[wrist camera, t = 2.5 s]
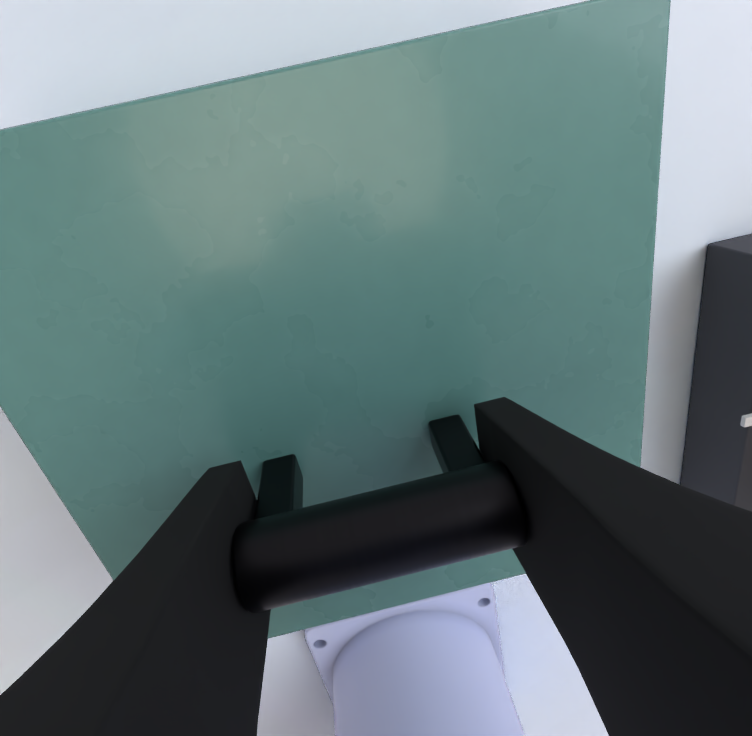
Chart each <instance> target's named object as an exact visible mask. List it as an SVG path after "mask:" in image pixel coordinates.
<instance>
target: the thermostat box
mask: <svg viewBox="0 0 752 736" xmlns="http://www.w3.org/2000/svg"><path fill="white" fill-rule="evenodd" d="M681 485H682V486H684V487H687V488H690V489H692V490H695V491H697V492H700V493H703V494H705V495H708V496H711V497H713V498H716V499H718V500H721V501H724V502H726V503H729V504H732V505H734V506H737V507H740V508H743V509H746V510H749V511H752V234H749V235H745V236H741V237H736V238H732V239H728V240H724V241H719V242H715V243H711V244H709V245H708V252H707V260H706V269H705V278H704V286H703V295H702V304H701V312H700V321H699V330H698V338H697V347H696V356H695V364H694V373H693V382H692V390H691V399H690V408H689V416H688V425H687V434H686V442H685V451H684V460H683V468H682V477H681Z"/></svg>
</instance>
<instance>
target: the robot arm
mask: <svg viewBox="0 0 752 736" xmlns="http://www.w3.org/2000/svg"><path fill="white" fill-rule="evenodd" d="M474 410H475V418H476V426H477V434H478V442H479V450H480V452H481V454H482V456H483V457H484V459H485V461H486V463H487V462H491V461H495V460H497V461H501V462H502V463H503V464H504V465H505V466H506V467H507V469H508V470H509V472H510V474H511V475H512V477H513V479H514V482H515V484H516V486H517V489H518V491H519V494H520V497H521V500H522V503H523V507H524V510H525V515H526V520H527V526H528V540H527V543H526V544H525V545H523V546H521V547H517V548H513V551H514V553H515V555H516V556H517V558H518V560H519V562H520V564H521V565H522V567H523V569H524V571H525V572H526V574H527V576H528V578H529V580H530V581H531V583H532V585H533V587H534V588H535V590H536V592H537V594H538V595H539V597H540V599H541V601H542V602H543V604H544V606H545V608H546V610H547V611H548V613H549V615H550V617H551V618H552V620H553V622H554V624H555V625H556V627H557V629H558V631H559V633H560V634H561V636H562V638H563V640H564V641H565V643H566V645H567V647H568V649H569V651H570V653H571V655H572V657H573V659H574V661H575V663H576V665H577V667H578V668H579V671H580V673H581V675H582V677H583V679H584V681H585V684H586V686H587V688H588V690H589V692H590V695H591V697H592V699H593V701H594V703H595V706H596V708H597V710H598V712H599V714H600V717H601V719H602V721H603V723H604V725H605V728H606V730H607V732H608V734H609V736H752V511H749V510H746V509H743V508H740V507H737V506H734V505H732V504H729V503H726V502H724V501H721V500H718V499H716V498H713V497H711V496H708V495H705V494H703V493H700V492H697V491H695V490H692V489H690V488H687V487H684V486H682V485H679V484H677V483H674V482H672V481H670V480H667V479H665V478H662V477H660V476H658V475H655V474H653V473H651V472H649V471H647V470H645V469H642V468H640V467H638V466H636V465H634V464H631V463H629V462H627V461H625V460H623V459H621V458H618V457H616V456H614V455H612V454H610V453H608V452H606V451H604V450H602V449H600V448H598V447H596V446H594V445H592V444H590V443H588V442H586V441H584V440H582V439H581V438H579V437H577V436H575V435H573V434H571V433H569V432H567V431H566V430H564V429H562V428H560V427H558V426H556V425H555V424H553V423H551V422H549V421H547V420H546V419H544V418H542V417H540V416H538V415H537V414H535V413H533V412H531V411H530V410H528V409H526V408H524V407H523V406H521V405H519V404H517V403H515V402H514V401H512V400H510V399H508V398H506V397H501V398H497V399H493V400H489V401H485V402H481V403H477V404H474ZM256 506H257V499H256V496H255V494H254V491H253V489H252V487H251V484H250V482H249V479H248V477H247V474H246V472H245V469H244V467H243V464H242V462H241V460H240V461H236V462H232V463H227V464H223V465H219V466H215V467H211V468H209V469H208V470H207V471H206V472H205V473H204V474H203V475H202V476H201V478H200V479H199V480H198V481H197V482H196V484H195V485H194V486H193V487H192V488H191V490H190V491H189V492H188V493H187V494H186V496H185V497H184V498H183V499H182V501H181V502H180V503H179V504H178V506H177V507H176V508H175V509H174V511H173V512H172V513H171V514H170V515H169V517H168V518H167V519H166V520H165V521H164V523H163V524H162V525H161V526H160V528H159V529H158V530H157V531H156V532H155V534H154V535H153V536H152V537H151V538H150V540H149V541H148V542H147V543H146V544H145V546H144V547H143V548H142V549H141V550H140V552H139V553H138V554H137V555H136V556H135V557H134V558H133V560H132V561H131V562H130V563H129V564H128V565H127V566H126V567H125V569H124V570H123V571H122V572H121V573H120V574H119V575H118V576H117V577H116V579H115V580H114V581H113V582H112V583H111V584H110V585H109V586H108V588H107V589H106V590H105V591H104V592H103V593H102V594H101V595H100V596H99V598H98V599H97V600H96V601H95V602H94V603H93V604H92V605H91V607H90V608H89V609H88V610H87V611H86V612H85V613H84V614H83V615H82V616H81V617H80V618H79V619H78V620H77V621H76V622H75V623H74V624H73V625H72V626H71V627H70V628H69V629H68V630H67V631H66V633H65V634H64V635H63V636H62V637H61V638H60V639H59V640H58V641H57V642H56V643H55V644H54V645H53V646H51V647H50V648H49V649H48V650H47V651H46V652H45V653H44V654H43V655H42V656H41V657H40V658H39V659H38V660H37V661H36V662H35V663H34V664H33V665H32V666H31V667H30V668H29V669H28V670H27V671H26V672H25V673H24V674H23V675H22V676H21V677H20V678H18V679H17V680H16V681H15V682H14V683H13V684H12V685H11V686H10V687H9V688H8V689H7V690H6V691H5V692H3V693H2V694H1V695H0V736H257V724H258V714H259V706H260V698H261V689H262V681H263V672H264V664H265V656H266V647H267V639H268V631H269V622H270V613H271V609H269V610H265V611H261V612H257V613H251V612H248V611H247V610H246V609H245V607H244V606H243V604H242V602H241V600H240V597H239V594H238V591H237V588H236V584H235V579H234V573H233V565H232V546H233V537H234V533H235V530H236V528H237V527H238V525H240V524H241V523H243V522H246V521H250V520H254V519H255V512H256ZM305 639H306V642H307V644H308V647H309V649H310V651H311V654H312V656H313V658H314V661H315V663H316V666H317V668H318V670H319V673H320V675H321V677H322V680H323V682H324V685H325V687H326V689H327V692H328V694H329V696H330V699H331V701H332V704H333V706H334V724H335V736H526V735H525V733H524V730H523V727H522V725H521V722H520V719H519V716H518V714H517V711H516V708H515V705H514V703H513V700H512V697H511V694H510V692H509V689H508V686H507V683H506V680H505V672H504V664H503V656H502V649H501V641H500V633H499V625H498V618H497V610H496V602H495V594H494V589H493V587H492V584H491V582H490V583H486V584H482V585H478V586H474V587H470V588H466V589H462V590H458V591H454V592H450V593H446V594H442V595H438V596H434V597H430V598H426V599H423V600H419V601H415V602H411V603H407V604H403V605H399V606H395V607H391V608H387V609H383V610H379V611H375V612H371V613H367V614H363V615H359V616H355V617H351V618H347V619H343V620H339V621H335V622H331V623H327V624H323V625H320V626H316V627H312V628H308V629H305Z"/></svg>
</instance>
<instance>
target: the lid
mask: <svg viewBox="0 0 752 736" xmlns="http://www.w3.org/2000/svg"><path fill="white" fill-rule="evenodd" d="M669 15H670V0H589V1H584V2H580V3H575V4H571V5H566V6H562V7H557V8H552V9H548V10H543V11H539V12H534V13H530V14H525V15H521V16H516V17H511V18H507V19H502V20H498V21H493V22H489V23H484V24H479V25H475V26H470V27H466V28H461V29H457V30H452V31H448V32H443V33H438V34H434V35H429V36H425V37H420V38H416V39H411V40H406V41H402V42H397V43H393V44H388V45H384V46H379V47H374V48H370V49H365V50H361V51H356V52H352V53H347V54H343V55H338V56H333V57H329V58H324V59H320V60H315V61H311V62H306V63H301V64H297V65H292V66H288V67H283V68H279V69H274V70H270V71H265V72H260V73H256V74H251V75H247V76H242V77H238V78H233V79H228V80H224V81H219V82H215V83H210V84H206V85H201V86H196V87H192V88H187V89H183V90H178V91H174V92H169V93H165V94H160V95H155V96H151V97H146V98H142V99H137V100H133V101H128V102H123V103H119V104H114V105H110V106H105V107H101V108H96V109H92V110H87V111H82V112H78V113H73V114H69V115H64V116H60V117H55V118H50V119H46V120H41V121H37V122H32V123H28V124H23V125H18V126H14V127H9V128H5V129H0V407H1V408H2V410H3V411H4V413H5V414H6V416H7V417H8V419H9V421H10V422H11V424H12V425H13V427H14V428H15V430H16V431H17V433H18V434H19V436H20V437H21V439H22V440H23V442H24V444H25V445H26V447H27V448H28V450H29V451H30V453H31V454H32V456H33V457H34V459H35V460H36V462H37V464H38V465H39V467H40V468H41V470H42V471H43V473H44V474H45V476H46V477H47V479H48V480H49V482H50V483H51V485H52V487H53V488H54V490H55V491H56V493H57V494H58V496H59V497H60V499H61V500H62V502H63V503H64V505H65V506H66V508H67V510H68V511H69V513H70V514H71V516H72V517H73V519H74V520H75V522H76V523H77V525H78V526H79V528H80V530H81V531H82V533H83V534H84V536H85V537H86V539H87V540H88V542H89V543H90V545H91V546H92V548H93V549H94V551H95V553H96V554H97V556H98V557H99V559H100V560H101V562H102V563H103V565H104V566H105V568H106V569H107V571H108V572H109V574H110V576H111V577H112V579H113V580H115V579H116V577H117V576H118V575H119V574H120V573H121V572H122V571H123V570H124V569H125V567H126V566H127V565H128V564H129V563H130V562H131V561H132V560H133V558H134V557H135V556H136V555H137V554H138V553H139V552H140V550H141V549H142V548H143V547H144V546H145V544H146V543H147V542H148V541H149V540H150V538H151V537H152V536H153V535H154V534H155V532H156V531H157V530H158V529H159V528H160V526H161V525H162V524H163V523H164V521H165V520H166V519H167V518H168V517H169V515H170V514H171V513H172V512H173V511H174V509H175V508H176V507H177V506H178V504H179V503H180V502H181V501H182V499H183V498H184V497H185V496H186V494H187V493H188V492H189V491H190V490H191V488H192V487H193V486H194V485H195V484H196V482H197V481H198V480H199V479H200V478H201V476H202V475H203V474H204V473H205V472H206V471H207V470H208V469H209V468H211V467H215V466H219V465H223V464H227V463H232V462H236V461H240V460H241V462H242V464H243V467H244V469H245V472H246V474H247V477H248V479H249V482H250V484H251V487H252V489H253V491H254V494H255V496H256V499H257V506H256V512H255V519H254V520H250V521H246V522H243V523H241V524H240V525H238V527H237V528H236V530H235V533H234V537H233V546H232V565H233V573H234V579H235V584H236V588H237V591H238V594H239V597H240V600H241V602H242V604H243V606H244V607H245V609H246V610H247V611H248V612H251V613H257V612H261V611H265V610H269V609H271V613H270V622H269V631H268V638H272V637H276V636H280V635H284V634H288V633H292V632H296V631H300V630H304V629H308V628H312V627H316V626H320V625H323V624H327V623H331V622H335V621H339V620H343V619H347V618H351V617H355V616H359V615H363V614H367V613H371V612H375V611H379V610H383V609H387V608H391V607H395V606H399V605H403V604H407V603H411V602H415V601H419V600H423V599H426V598H430V597H434V596H438V595H442V594H446V593H450V592H454V591H458V590H462V589H466V588H470V587H474V586H478V585H482V584H486V583H490V582H494V581H498V580H502V579H506V578H510V577H514V576H518V575H522V574H526V572H525V571H524V569H523V567H522V565H521V564H520V562H519V560H518V558H517V556H516V555H515V553H514V551H513V548H517V547H521V546H523V545H525V544H526V543H527V540H528V526H527V520H526V515H525V510H524V507H523V503H522V500H521V497H520V494H519V491H518V489H517V486H516V484H515V482H514V479H513V477H512V475H511V474H510V472H509V470H508V469H507V467H506V466H505V465H504V464H503V463H502V462H501V461H497V460H495V461H491V462H487V463H486V461H485V459H484V457H483V456H482V454H481V452H480V450H479V442H478V434H477V426H476V418H475V410H474V404H477V403H481V402H485V401H489V400H493V399H497V398H501V397H506V398H508V399H510V400H512V401H514V402H515V403H517V404H519V405H521V406H523V407H524V408H526V409H528V410H530V411H531V412H533V413H535V414H537V415H538V416H540V417H542V418H544V419H546V420H547V421H549V422H551V423H553V424H555V425H556V426H558V427H560V428H562V429H564V430H566V431H567V432H569V433H571V434H573V435H575V436H577V437H579V438H581V439H582V440H584V441H586V442H588V443H590V444H592V445H594V446H596V447H598V448H600V449H602V450H604V451H606V452H608V453H610V454H612V455H614V456H616V457H618V458H621V459H623V460H625V461H627V462H629V463H631V464H634V465H636V466H638V467H640V463H641V448H642V432H643V417H644V401H645V386H646V371H647V355H648V340H649V324H650V309H651V293H652V278H653V262H654V247H655V232H656V216H657V201H658V185H659V170H660V154H661V139H662V124H663V108H664V93H665V77H666V62H667V46H668V31H669Z"/></svg>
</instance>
